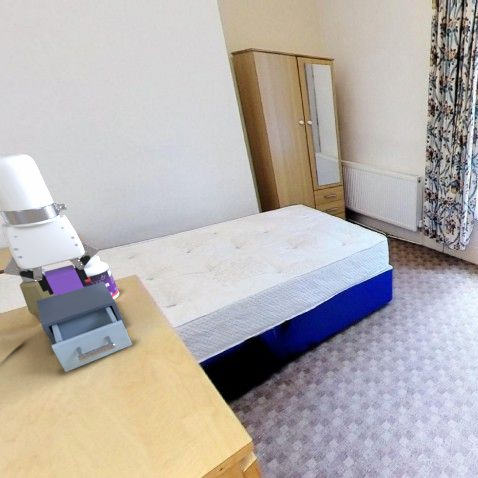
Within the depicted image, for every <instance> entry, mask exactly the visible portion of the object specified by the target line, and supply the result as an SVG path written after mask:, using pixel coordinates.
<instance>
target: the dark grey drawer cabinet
mask: <svg viewBox="0 0 478 478" xmlns="http://www.w3.org/2000/svg"><path fill="white" fill-rule="evenodd" d="M36 303H37V307H38V312H39V316H40V319H39V320H40V325H41V327H42V329H43V331H44V333H45V334H46V336H47V338H48V340H49V341H50V343H51V345H54V344H57V343H56V340H55V337H54V333H53V329H52V325H54V324H57V323H60V322H63V321H66V320H69V319H72V318H75V317H78V316H81V315H84V314H87V313H90V312H93V311H96V310H99V309H102V308H105V307H110V309H111V311H112V312H113V314H114V316H115V318H116V320H117V321H120V320H122V322H123V324H124V327H125V329H126V330H127V327H126V324H125V321H124V319H123V317H122V315H121V312H120V309H119V308H118V304H117V303H116V301H115V299H113V297H112V296H111V294H110V292H109V290H108V289H107V287H106V285H105V284H104V282H100V283H97V284H93V285H90V286H86V287H84V288H81V289H78V290H74V291H71V292H68V293H64V294H61V295H57V296H52V297H48V298H45V299H41V300H38V301H36Z"/></svg>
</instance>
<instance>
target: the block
mask: <svg viewBox="0 0 478 478" xmlns="http://www.w3.org/2000/svg"><path fill="white" fill-rule="evenodd" d="M44 273H45V276H46V279H47V281H48V283H49V285H50V287H51V289H52V291H53V293H54V295H55V296H57V295H61V294H64V293H68V292H71V291H74V290H78V289H81V288H84V287H83V285H82V283H81V281H80V279H79V277H78V275H77V273H76V270H75V266H74V264H71V265H70V264H69V265H65V266H61V267H57V268H54V269H50V270H46V271H45V272H44Z"/></svg>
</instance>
